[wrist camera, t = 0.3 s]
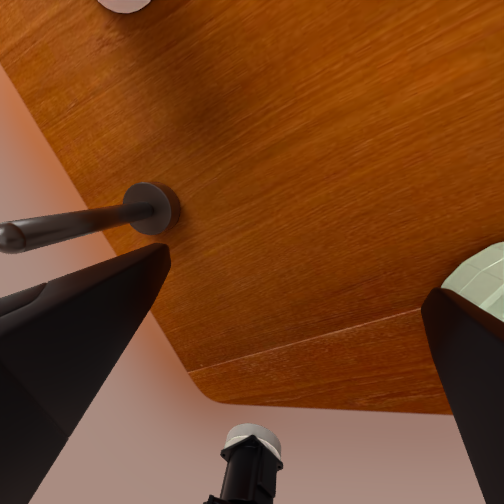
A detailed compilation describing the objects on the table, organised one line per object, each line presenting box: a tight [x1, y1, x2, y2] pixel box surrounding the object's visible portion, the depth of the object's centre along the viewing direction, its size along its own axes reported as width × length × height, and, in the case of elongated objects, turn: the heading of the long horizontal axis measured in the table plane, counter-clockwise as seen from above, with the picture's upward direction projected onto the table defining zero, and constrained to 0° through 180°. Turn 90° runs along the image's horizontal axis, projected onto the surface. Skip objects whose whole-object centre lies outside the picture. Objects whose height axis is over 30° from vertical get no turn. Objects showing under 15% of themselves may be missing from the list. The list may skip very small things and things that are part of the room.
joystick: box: [0, 182, 180, 254], centre depth 18 cm, size 5×5×14 cm
